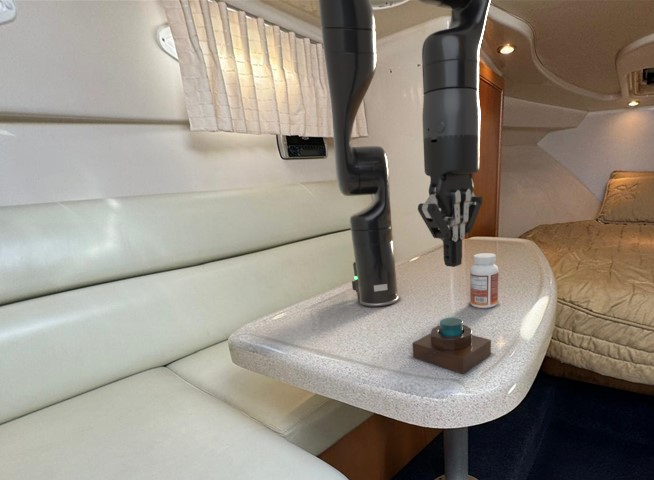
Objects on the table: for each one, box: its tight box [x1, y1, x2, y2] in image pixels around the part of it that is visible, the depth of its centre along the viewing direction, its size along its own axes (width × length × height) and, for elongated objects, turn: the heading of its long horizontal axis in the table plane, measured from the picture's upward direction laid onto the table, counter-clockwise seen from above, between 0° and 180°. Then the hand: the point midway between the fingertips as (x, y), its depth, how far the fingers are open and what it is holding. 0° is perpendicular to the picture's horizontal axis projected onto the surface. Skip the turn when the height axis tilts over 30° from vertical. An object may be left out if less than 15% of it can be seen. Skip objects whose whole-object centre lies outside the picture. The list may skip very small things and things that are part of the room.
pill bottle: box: [469, 252, 499, 309], centre depth 81 cm, size 6×6×11 cm
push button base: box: [412, 324, 492, 375], centre depth 59 cm, size 10×8×4 cm
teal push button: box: [439, 317, 464, 336], centre depth 58 cm, size 4×4×2 cm
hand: (452, 265), depth 56 cm, fingers closed
